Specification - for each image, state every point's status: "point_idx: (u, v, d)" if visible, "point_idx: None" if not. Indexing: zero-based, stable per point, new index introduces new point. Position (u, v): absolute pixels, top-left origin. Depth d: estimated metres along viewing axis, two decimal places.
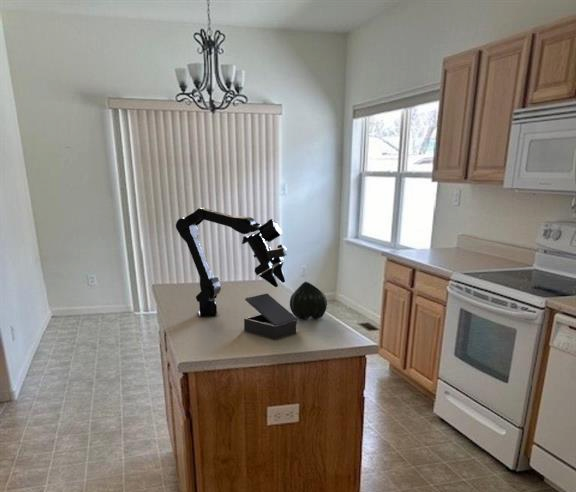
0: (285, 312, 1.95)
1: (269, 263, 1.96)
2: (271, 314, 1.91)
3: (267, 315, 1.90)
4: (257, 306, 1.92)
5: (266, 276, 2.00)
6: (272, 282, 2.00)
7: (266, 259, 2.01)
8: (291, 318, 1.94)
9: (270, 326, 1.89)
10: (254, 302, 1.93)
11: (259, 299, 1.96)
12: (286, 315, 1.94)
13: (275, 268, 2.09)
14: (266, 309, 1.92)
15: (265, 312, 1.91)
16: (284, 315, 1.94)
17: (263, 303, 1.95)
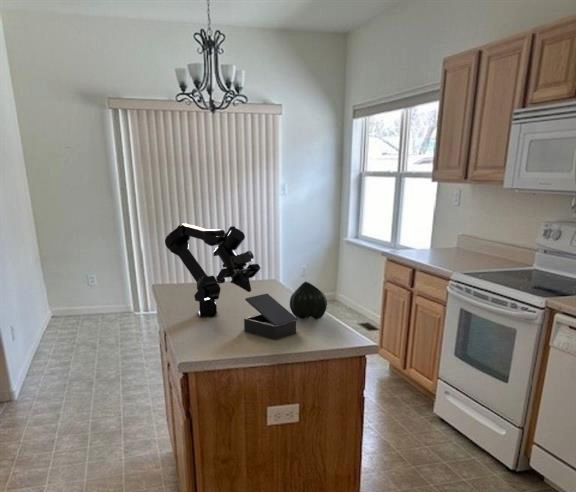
0: (285, 312, 1.95)
1: (227, 269, 1.93)
2: (271, 314, 1.91)
3: (267, 315, 1.90)
4: (257, 306, 1.92)
5: (238, 282, 1.99)
6: (244, 287, 1.99)
7: (231, 267, 1.98)
8: (291, 318, 1.94)
9: (270, 326, 1.89)
10: (254, 302, 1.93)
11: (259, 299, 1.96)
12: (286, 315, 1.94)
13: None
14: (266, 309, 1.92)
15: (265, 312, 1.91)
16: (284, 315, 1.94)
17: (263, 303, 1.95)
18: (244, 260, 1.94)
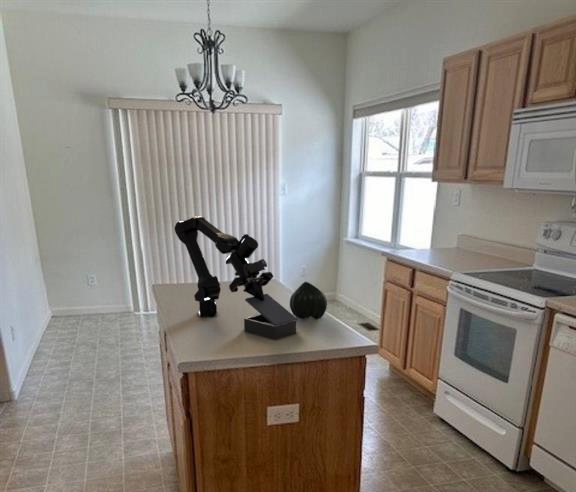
0: (285, 312, 1.95)
1: (240, 278, 1.90)
2: (271, 314, 1.91)
3: (267, 315, 1.90)
4: (257, 306, 1.92)
5: (251, 290, 1.96)
6: (257, 296, 1.96)
7: (244, 275, 1.95)
8: (291, 318, 1.94)
9: (270, 326, 1.89)
10: (254, 302, 1.93)
11: (259, 300, 1.96)
12: (286, 315, 1.94)
13: None
14: (266, 309, 1.93)
15: (265, 312, 1.91)
16: (284, 315, 1.94)
17: (263, 303, 1.95)
18: (257, 269, 1.91)
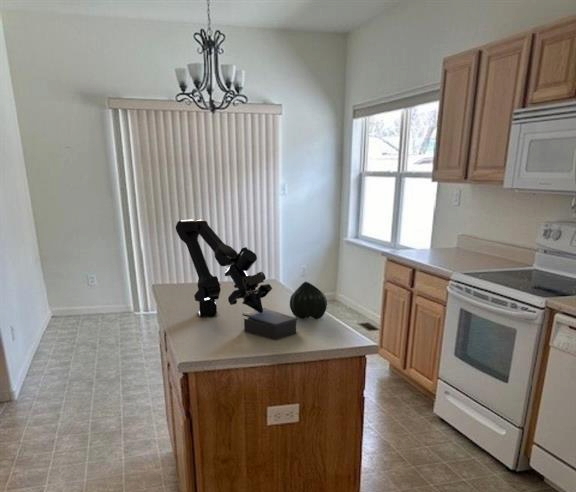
0: (283, 316, 1.96)
1: (239, 291, 1.92)
2: (270, 319, 1.92)
3: (266, 320, 1.91)
4: (255, 316, 1.94)
5: (250, 303, 1.98)
6: (256, 308, 1.98)
7: (243, 288, 1.97)
8: (290, 319, 1.94)
9: (270, 326, 1.89)
10: (251, 314, 1.96)
11: (256, 312, 1.99)
12: (285, 317, 1.95)
13: None
14: (264, 317, 1.94)
15: (263, 318, 1.92)
16: (283, 318, 1.94)
17: (261, 314, 1.97)
18: (256, 281, 1.93)
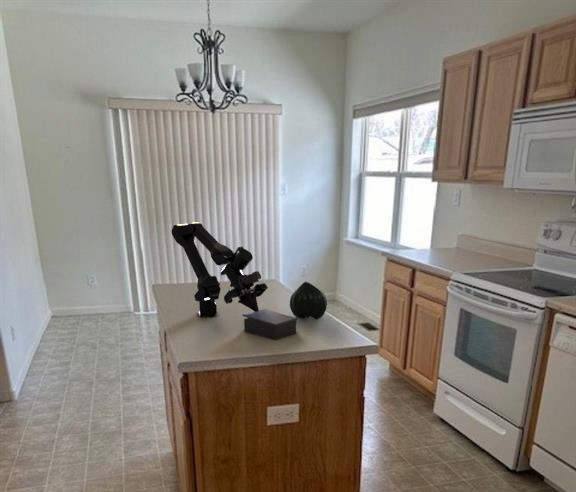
0: (283, 316, 1.96)
1: (235, 290, 1.93)
2: (270, 319, 1.92)
3: (266, 320, 1.91)
4: (255, 316, 1.94)
5: (245, 302, 2.00)
6: (251, 307, 1.99)
7: (239, 287, 1.99)
8: (290, 319, 1.94)
9: (270, 326, 1.89)
10: (251, 315, 1.96)
11: (256, 313, 1.99)
12: (285, 318, 1.95)
13: None
14: (264, 317, 1.94)
15: (263, 319, 1.92)
16: (283, 318, 1.94)
17: (261, 314, 1.97)
18: (252, 281, 1.94)
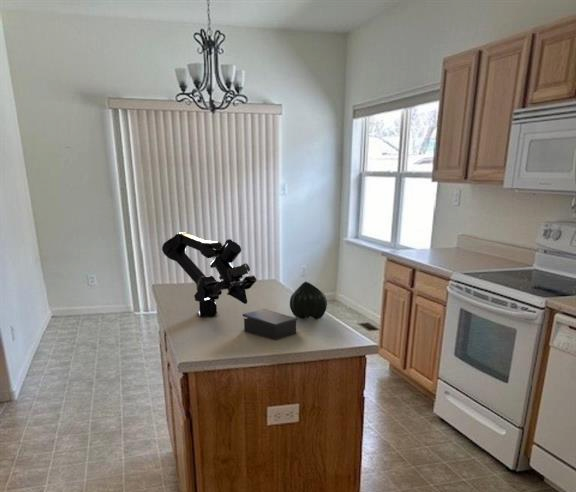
0: (283, 316, 1.96)
1: (224, 282, 1.96)
2: (270, 319, 1.92)
3: (266, 320, 1.91)
4: (255, 316, 1.94)
5: (234, 294, 2.03)
6: (240, 299, 2.02)
7: (228, 279, 2.01)
8: (290, 319, 1.94)
9: (270, 326, 1.89)
10: (251, 315, 1.96)
11: (256, 313, 1.99)
12: (285, 318, 1.95)
13: None
14: (264, 317, 1.94)
15: (263, 319, 1.92)
16: (283, 318, 1.94)
17: (261, 314, 1.97)
18: (240, 273, 1.97)
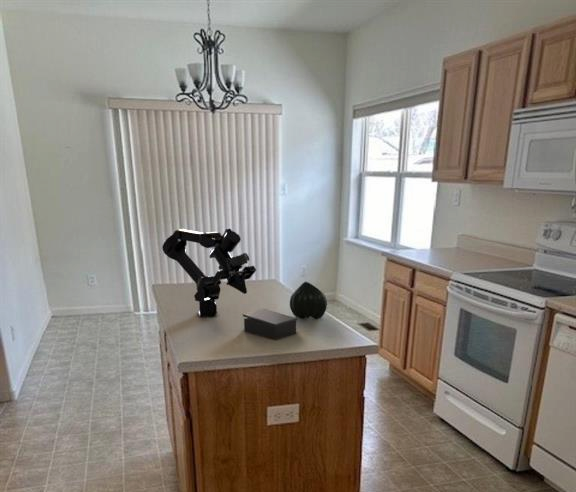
0: (283, 316, 1.96)
1: (223, 271, 1.95)
2: (270, 319, 1.92)
3: (266, 320, 1.91)
4: (255, 316, 1.94)
5: (234, 284, 2.01)
6: (240, 289, 2.01)
7: (227, 269, 2.00)
8: (290, 319, 1.94)
9: (270, 326, 1.89)
10: (251, 315, 1.96)
11: (256, 313, 1.99)
12: (285, 318, 1.95)
13: None
14: (264, 317, 1.94)
15: (263, 319, 1.92)
16: (283, 318, 1.94)
17: (261, 314, 1.97)
18: (240, 262, 1.96)
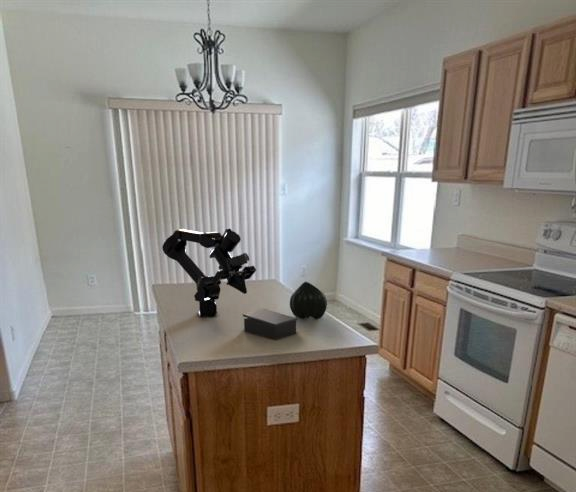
0: (283, 316, 1.96)
1: (223, 271, 1.95)
2: (270, 319, 1.92)
3: (266, 320, 1.91)
4: (255, 316, 1.94)
5: (234, 284, 2.01)
6: (240, 289, 2.01)
7: (227, 269, 2.00)
8: (290, 319, 1.94)
9: (270, 326, 1.89)
10: (251, 315, 1.96)
11: (256, 313, 1.99)
12: (285, 318, 1.95)
13: None
14: (264, 317, 1.94)
15: (263, 319, 1.92)
16: (283, 318, 1.94)
17: (261, 314, 1.97)
18: (240, 262, 1.96)
